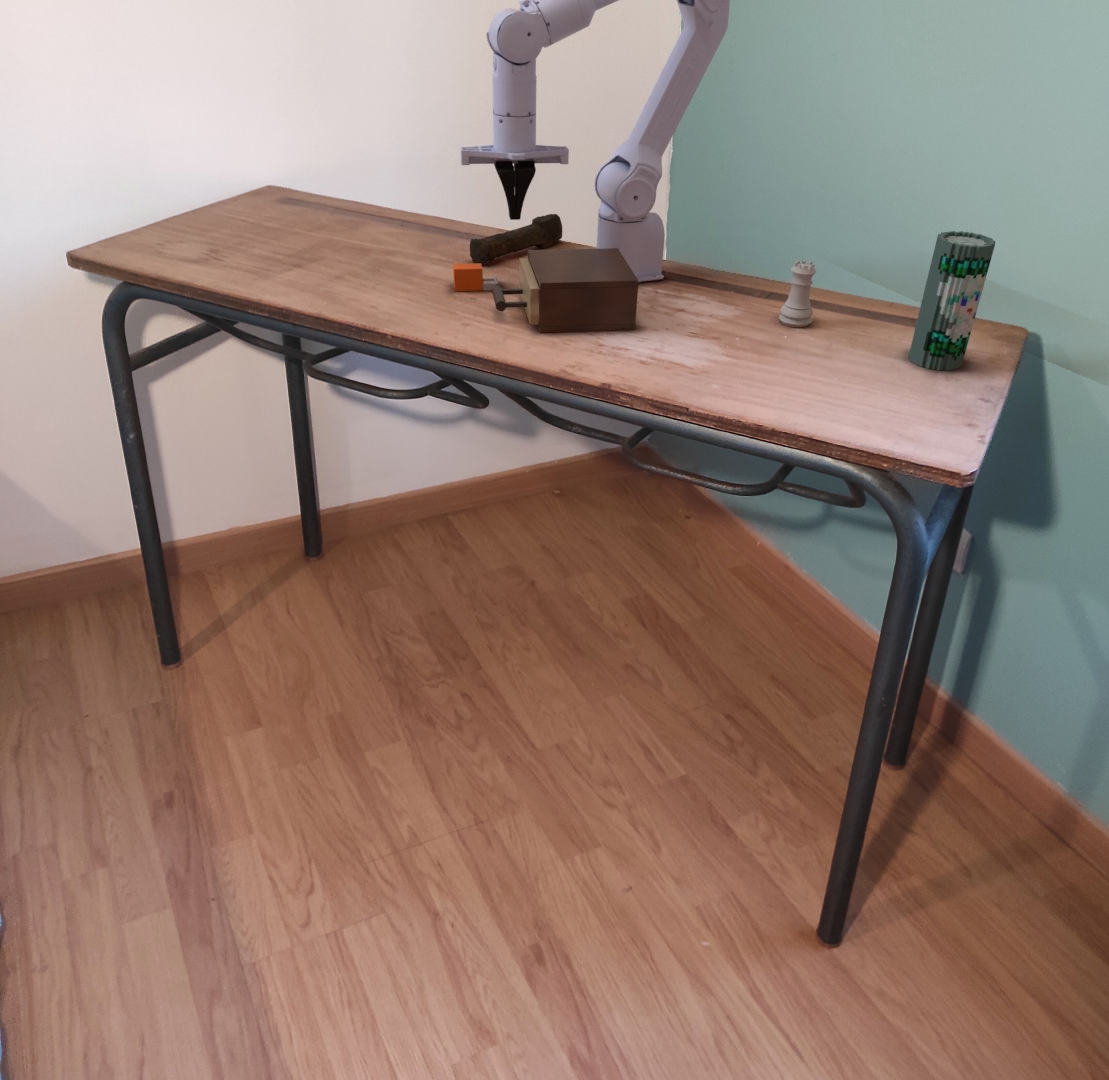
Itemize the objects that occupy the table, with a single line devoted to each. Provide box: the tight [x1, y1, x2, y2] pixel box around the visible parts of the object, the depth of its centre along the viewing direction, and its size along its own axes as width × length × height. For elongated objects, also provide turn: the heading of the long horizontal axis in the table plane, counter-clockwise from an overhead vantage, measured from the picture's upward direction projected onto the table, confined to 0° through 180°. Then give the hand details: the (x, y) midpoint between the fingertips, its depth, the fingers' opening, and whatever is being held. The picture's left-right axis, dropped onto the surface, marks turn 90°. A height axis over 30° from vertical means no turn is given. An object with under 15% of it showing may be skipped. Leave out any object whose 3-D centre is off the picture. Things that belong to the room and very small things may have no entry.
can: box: [907, 230, 996, 372], centre depth 115 cm, size 6×6×15 cm
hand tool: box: [469, 213, 563, 266], centre depth 151 cm, size 19×4×5 cm, turn 134°
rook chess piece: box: [778, 259, 817, 328], centre depth 127 cm, size 4×4×8 cm
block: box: [452, 262, 499, 292], centre depth 137 cm, size 6×2×3 cm, turn 98°
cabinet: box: [527, 248, 640, 334], centre depth 129 cm, size 13×14×7 cm
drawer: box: [491, 257, 540, 326], centre depth 128 cm, size 16×12×5 cm
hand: (514, 217), depth 134 cm, fingers closed
